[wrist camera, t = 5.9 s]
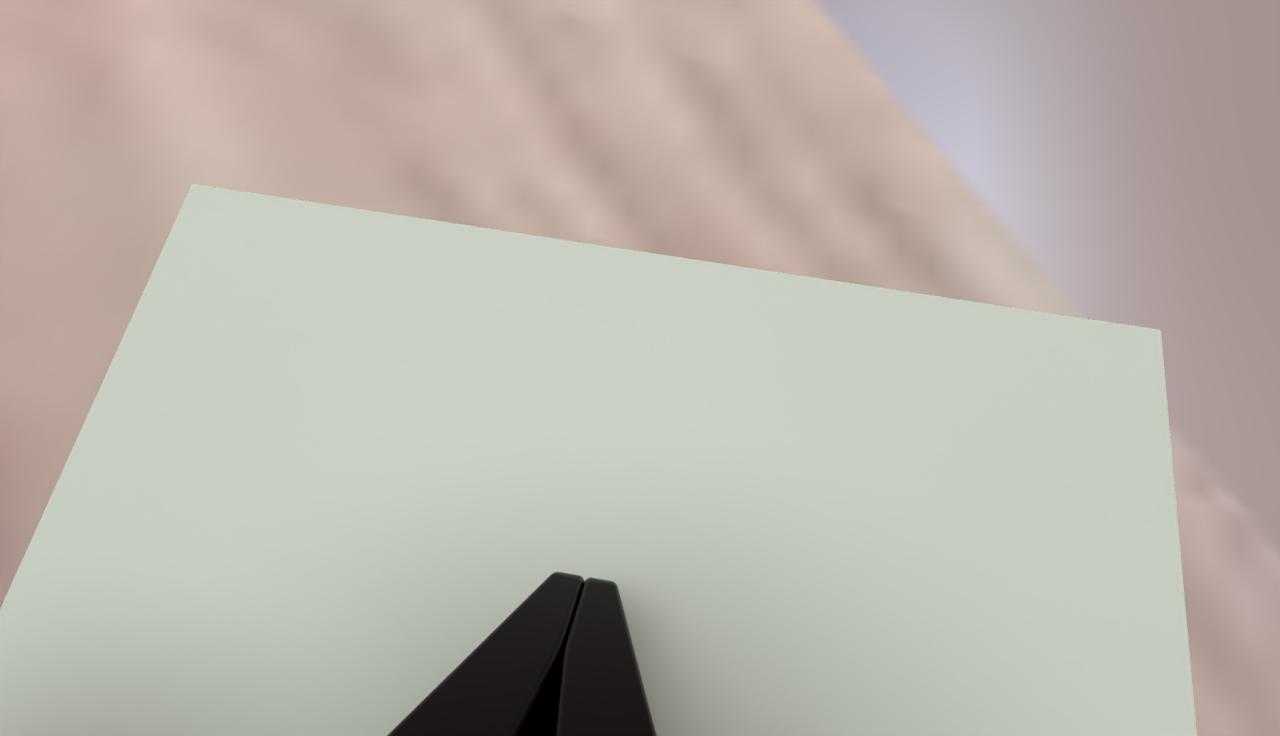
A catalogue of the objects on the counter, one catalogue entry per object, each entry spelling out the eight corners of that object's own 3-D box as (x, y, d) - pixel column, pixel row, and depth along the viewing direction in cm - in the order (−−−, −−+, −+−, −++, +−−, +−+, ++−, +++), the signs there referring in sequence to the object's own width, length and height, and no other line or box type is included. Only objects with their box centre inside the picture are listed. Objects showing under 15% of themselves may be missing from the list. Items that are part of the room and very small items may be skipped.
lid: (1191, 1188, 9) (1241, 1242, 8) (-88, 909, 10) (-147, 935, 9) (1130, 345, 13) (1160, 329, 12) (216, 206, 14) (192, 183, 13)
